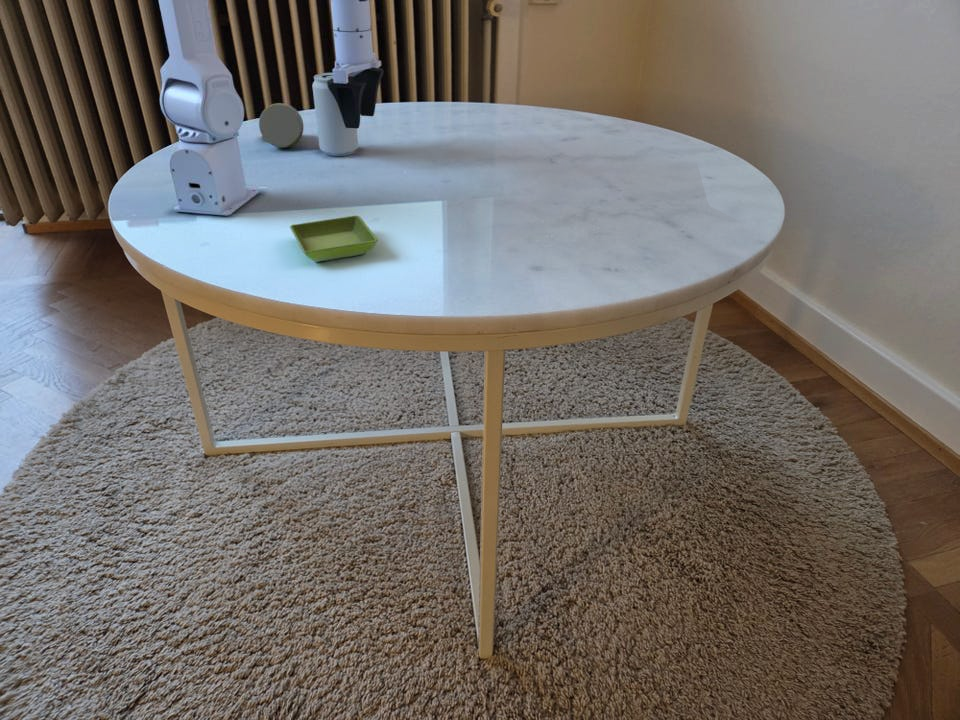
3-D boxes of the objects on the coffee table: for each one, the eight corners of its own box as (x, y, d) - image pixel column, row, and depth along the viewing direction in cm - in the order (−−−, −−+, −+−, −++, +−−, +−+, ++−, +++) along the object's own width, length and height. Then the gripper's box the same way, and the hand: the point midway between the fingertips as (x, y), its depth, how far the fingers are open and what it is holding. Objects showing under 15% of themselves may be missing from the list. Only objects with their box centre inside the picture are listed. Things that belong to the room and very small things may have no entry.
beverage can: (341, 143, 117) (333, 69, 110) (366, 151, 114) (360, 75, 107) (312, 152, 113) (302, 75, 106) (337, 159, 110) (329, 81, 103)
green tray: (291, 240, 83) (288, 224, 82) (360, 229, 86) (358, 214, 85) (305, 269, 76) (303, 252, 75) (380, 256, 79) (378, 240, 78)
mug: (310, 134, 123) (311, 89, 114) (297, 172, 118) (298, 129, 109) (268, 123, 121) (266, 77, 113) (254, 162, 117) (251, 117, 108)
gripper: (362, 37, 96) (369, 135, 103) (391, 23, 108) (396, 112, 115) (315, 35, 97) (326, 132, 104) (349, 22, 109) (356, 109, 116)
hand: (360, 121), depth 110 cm, fingers open, 7 cm apart
